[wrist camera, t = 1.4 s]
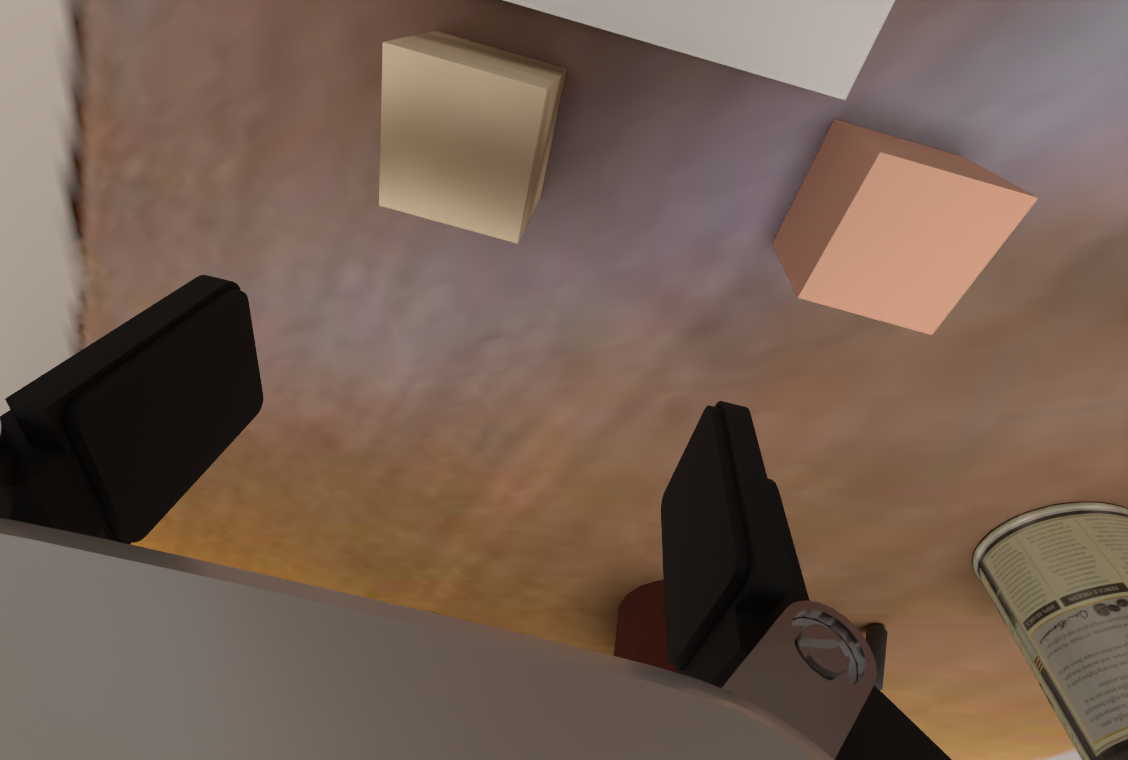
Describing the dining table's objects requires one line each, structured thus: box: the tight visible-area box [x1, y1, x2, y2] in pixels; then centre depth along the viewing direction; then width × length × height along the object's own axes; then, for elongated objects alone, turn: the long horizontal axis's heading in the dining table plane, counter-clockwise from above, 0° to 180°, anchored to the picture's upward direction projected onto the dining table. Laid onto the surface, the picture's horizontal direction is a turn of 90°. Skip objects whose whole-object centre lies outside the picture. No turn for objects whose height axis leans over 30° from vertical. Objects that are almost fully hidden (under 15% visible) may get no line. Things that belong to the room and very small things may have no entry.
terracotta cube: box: [772, 119, 1038, 335], centre depth 23 cm, size 6×6×6 cm
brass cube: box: [379, 31, 567, 244], centre depth 23 cm, size 6×6×6 cm
